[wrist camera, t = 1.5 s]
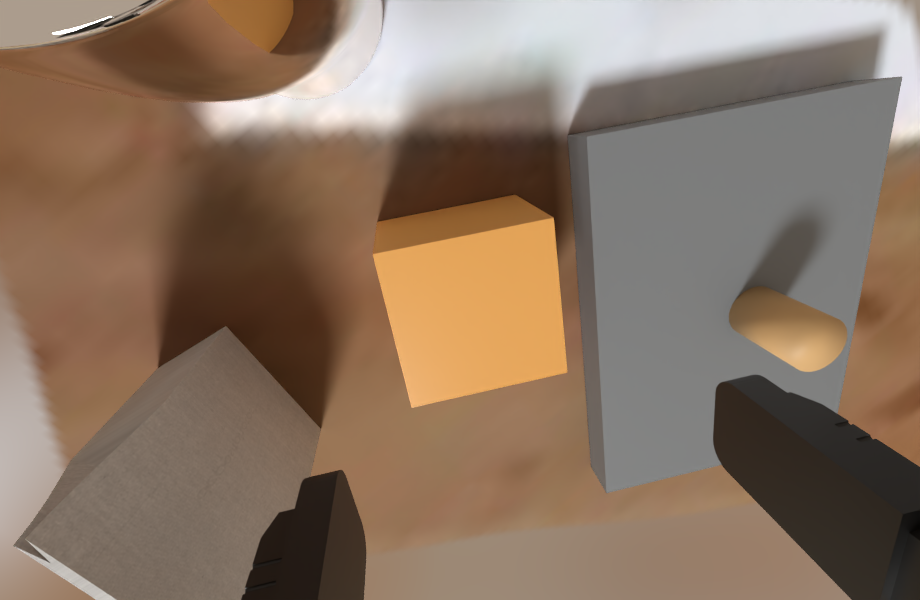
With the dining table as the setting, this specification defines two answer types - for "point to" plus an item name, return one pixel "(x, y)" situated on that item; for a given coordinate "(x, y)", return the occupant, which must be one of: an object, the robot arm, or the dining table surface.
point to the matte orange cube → (472, 297)
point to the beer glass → (193, 46)
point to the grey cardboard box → (179, 482)
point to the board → (720, 263)
